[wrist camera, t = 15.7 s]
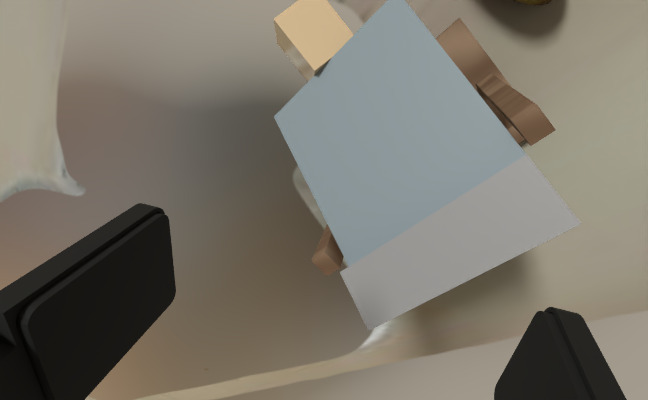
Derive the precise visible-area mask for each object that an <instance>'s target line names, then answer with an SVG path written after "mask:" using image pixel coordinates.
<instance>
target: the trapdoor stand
mask: <svg viewBox="0 0 648 400" xmlns="http://www.w3.org/2000/svg"><path fill="white" fill-rule="evenodd" d="M436 40H437V42H438V43H439V44H440V45H441V47H442V48H443V49H444V51H445V52H446V53H447V54H448V56H449V57H450V58H451V59H452V61H453V62H454V63H455V65H456V66H457V67H458V68H459V70H460V71H461V72H462V73H463V75H464V76H465V77H466V78H467V80H468V81H469V82H470V84H471V85H472V86H473V87H474V89H475V90H476V91H477V92H478V94H479V95H480V96H481V97H482V99H483V100H484V101H485V103H486V104H487V105H488V106H489V108H490V109H491V110H492V111H493V113H494V114H495V115H496V116H497V118H498V119H499V120H500V122H501V123H502V124H503V125H504V127H505V128H506V129H507V130H508V132H509V133H510V134H511V135H512V137H513V138H514V139H515V141H516V142H517V143H518V144H519V143H520V142H522V141H523V140H526V141H527V142H528V143H529V144H530V145H533V144H535V143H536V142H538V141H539V140H541V139H542V138H544V137H546V136H547V135H549V134H550V133H552V132H553V131H555V128H554V127H553V126H552V124H551V123H550V122H549V120H548V119H547V117H546V116H545V115H544V113H543V112H542V111H541V109H540V108H539V107H538V105H536V104H535V103H533V102H532V101H530V100H529V99H528V98H526V97H525V96H523V95H522V94H520V93H519V92H518V91H516V90H515V89H513V88H512V87H511V86H510V84H509V83H508V82H507V80H506V79H505V78H504V76H503V75H502V74H501V72H500V71H499V70H498V68H497V67H496V66H495V64H494V63H493V62H492V60H491V59H490V58H489V56H488V55H487V54H486V52H485V51H484V50H483V48H482V47H481V46H480V44H479V43H478V42H477V40H476V39H475V38H474V36H473V35H472V34H471V32H470V31H469V30H468V29H467V27H466V26H465V25H464V23H463V22H462V21H461V19H458V20H456V21H455V22H454V23H453V24H452V25H451V26H450V27H449V28H447V29H446V30H445V31H444V32H443V33H442V34H441V35H440V36H439V37H437V38H436ZM343 257H344V256H343V254H342V252H341V250H340V248H339V246H338V244H337V242H336V240H335V238H334V236H333V234H332V232H331V230H330V228H329V226H328V224H327V226H326V228H325V230H324V233H323V235H322V237H321V240H320V242H319V244H318V247H317V249H316V252H315V254H314V256H313V258H312V262H313V263H314V264H315V265H316V266H317V267H318V268H320V270H321V271H322V272H323V273H324V274H325V275H326V276H328V275H330V274H331V273H333V272H334V271H336V270H337V269H339V268H340V267H341V263H342V260H343Z"/></svg>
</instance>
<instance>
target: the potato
mask: <svg viewBox="0 0 648 400" xmlns="http://www.w3.org/2000/svg"><path fill="white" fill-rule="evenodd" d="M515 1H518V2H521V3H524V4H528V5H534V6H537V5H544V4H548V3H549V2H551V1H552V0H515Z"/></svg>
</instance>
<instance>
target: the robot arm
mask: <svg viewBox="0 0 648 400" xmlns="http://www.w3.org/2000/svg"><path fill="white" fill-rule="evenodd" d="M175 293H176V287H175V278H174V267H173V257H172V246H171V236H170V226H169V219H168V217H167V216H166V215H165V213H164V211H163V210H162V209H161V208H158V207H154V206H150V205H146V204H141V203H140V204H137V205H135V206H133V207H132V208H130V209H128V210H127V211H125V212H124V213H122V214H121V215H119V216H117V217H116V218H114V219H113V220H111V221H110V222H108V223H106V224H105V225H103V226H102V227H100V228H98V229H97V230H95V231H94V232H92V233H90V234H89V235H87V236H86V237H84V238H83V239H81V240H79V241H78V242H77V243H75V244H73V245H72V246H70V247H68V248H67V249H65V250H64V251H62V252H61V253H59V254H57V255H56V256H54V257H53V258H51V259H49V260H48V261H46V262H45V263H43V264H42V265H40V266H38V267H37V268H35V269H34V270H32V271H30V272H29V273H27V274H26V275H24V276H23V277H21V278H19V279H18V280H16V281H15V282H13V283H11V284H10V285H8V286H7V287H5V288H4V289H2V290H0V400H85V398H86V397H87V396H88V395H89V394H90V393H91V392H92V391H93V390H94V388H95V387H96V386H97V385H98V384H99V383H100V382H101V381H102V380H103V379H104V377H105V376H106V375H107V374H108V373H109V372H110V371H111V370H112V369H113V367H114V366H115V365H116V364H117V363H118V362H119V361H120V360H121V358H122V357H123V356H124V355H125V354H126V353H127V352H128V351H129V350H130V349H131V347H132V346H133V345H134V344H135V343H136V342H137V341H138V339H140V337H141V336H142V335H143V334H144V333H145V332H146V331H147V330H148V329H149V327H150V326H151V325H152V324H153V323H154V322H155V321H156V320H157V318H158V317H159V316H160V315H161V314H162V313H163V312H164V311H165V310H166V309H167V307H168V306H169V305H170V304H171V302H172V301H173V299H174V297H175ZM494 400H627V399H626V398H625V396H624V394H623V392H622V390H621V388H620V386H619V385H618V383H617V381H616V379H615V377H614V375H613V373H612V371H611V369H610V368H609V366H608V364H607V362H606V360H605V358H604V356H603V355H602V353H601V351H600V349H599V347H598V345H597V343H596V342H595V340H594V338H593V336H592V334H591V332H590V330H589V328H588V327H587V325H586V323H585V321H584V319H583V318H582V316H581V315H579V314H577V313H573V312H569V311H565V310H561V309H557V308H554V307H549V308H547V309H546V310H545V311H544V312H543V311H538V312H537V313H536V314H535V316H534V317H533V319H532V321H531V323H530V325H529V326H528V328H527V330H526V332H525V334H524V335H523V337H522V339H521V341H520V343H519V345H518V346H517V348H516V350H515V352H514V353H513V355H512V357H511V359H510V361H509V363H508V364H507V366H506V368H505V370H504V372H503V373H502V375H501V377H500V379H499V381H498V382H497V384H496V387H495V393H494Z"/></svg>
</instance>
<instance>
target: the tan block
mask: <svg viewBox="0 0 648 400" xmlns="http://www.w3.org/2000/svg"><path fill="white" fill-rule="evenodd" d="M274 24H275V31H276V37H277V44H278V45H279V46H280V47H281V49H282V50H283V51H284V53H285V54H286V55H287V56H288V58H289V59H290V60H291V61H292V63H293V64H294V65H295V66H296V68H297V69H298V70H299V72H300V73H301V74H302V75H303V77H304V78H305V79H306V80H307V82H308V81H309V80H310V79H311V78H312V77H313V76H314V75H315V74H316V73H317V72H318V71H319V70H320V69H321V68H322V67H323V66H324V65H325V64H326V63H327V62H328V61H329V60H330V59H331V58H332V57H333V56H334V55H335V54H336V53H337V52H338V51H339V50H340V49H341V48H342V47H343V46H344V45H345V43H346V42H347V41H348V40H349V39H350V38H351V37H352V36H353V33H352V32H351V31H350V29H349V28H348V27H347V26H346V24H345V23H344V22H343V20H342V19H341V18H340V17H339V15H338V14H337V13H336V11H335V10H334V9H333V8H332V6H331V5H330V4H329V3H328V1H327V0H298V1H297V2H296V3H294V4H293V5H292V6H290V7H289V8H288V9H286V10H285V11H284V12H282V13H281V14H280V15H279V16H277V17H276V18H274Z"/></svg>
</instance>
